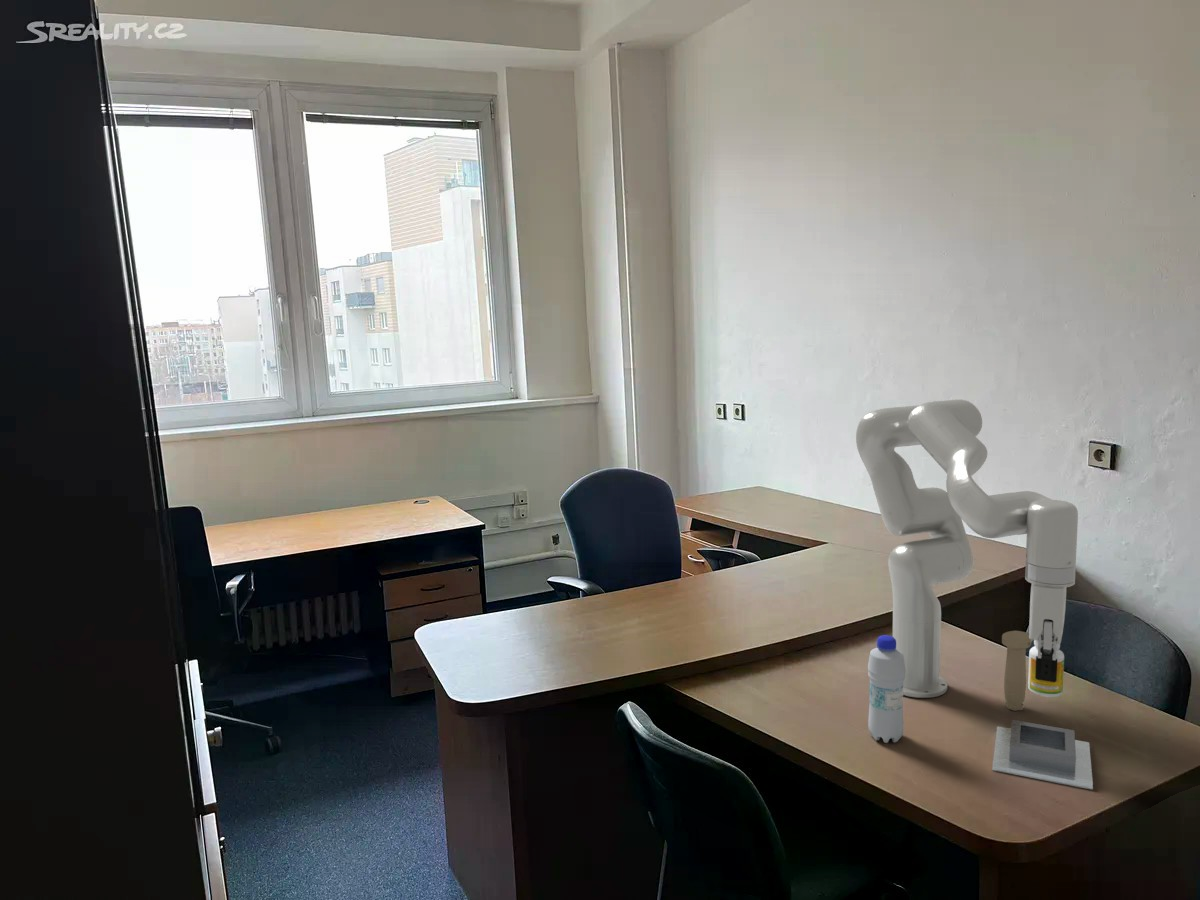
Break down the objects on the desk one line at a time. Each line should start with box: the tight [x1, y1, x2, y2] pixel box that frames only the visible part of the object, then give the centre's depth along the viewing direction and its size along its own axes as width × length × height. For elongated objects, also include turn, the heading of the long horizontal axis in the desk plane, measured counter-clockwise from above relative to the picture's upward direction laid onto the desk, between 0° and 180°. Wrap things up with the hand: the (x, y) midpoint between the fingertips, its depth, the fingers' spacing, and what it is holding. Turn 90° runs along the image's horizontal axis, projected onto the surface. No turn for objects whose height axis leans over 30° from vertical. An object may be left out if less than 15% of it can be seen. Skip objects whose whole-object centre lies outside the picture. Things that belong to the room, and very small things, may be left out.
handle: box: [1001, 630, 1033, 712], centre depth 166 cm, size 5×6×15 cm
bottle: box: [867, 634, 906, 744], centre depth 156 cm, size 7×7×20 cm
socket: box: [991, 719, 1094, 790], centre depth 148 cm, size 15×15×4 cm
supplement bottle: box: [1027, 636, 1065, 698], centre depth 145 cm, size 5×5×10 cm
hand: (1045, 672), depth 146 cm, fingers closed on supplement bottle, 5 cm apart
